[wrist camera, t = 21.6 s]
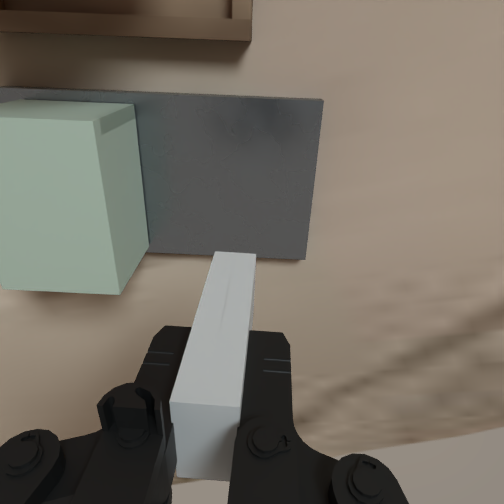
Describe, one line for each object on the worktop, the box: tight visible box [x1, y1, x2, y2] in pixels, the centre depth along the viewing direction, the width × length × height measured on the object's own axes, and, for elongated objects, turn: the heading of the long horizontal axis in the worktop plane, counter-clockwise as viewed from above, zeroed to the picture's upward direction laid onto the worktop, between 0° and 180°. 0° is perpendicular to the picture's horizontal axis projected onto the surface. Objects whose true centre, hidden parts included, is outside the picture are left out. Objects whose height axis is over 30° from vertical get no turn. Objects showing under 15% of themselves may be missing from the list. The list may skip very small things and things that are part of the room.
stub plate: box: [0, 86, 324, 260], centre depth 25 cm, size 11×20×4 cm, turn 88°
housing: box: [0, 99, 149, 295], centre depth 23 cm, size 10×7×6 cm
